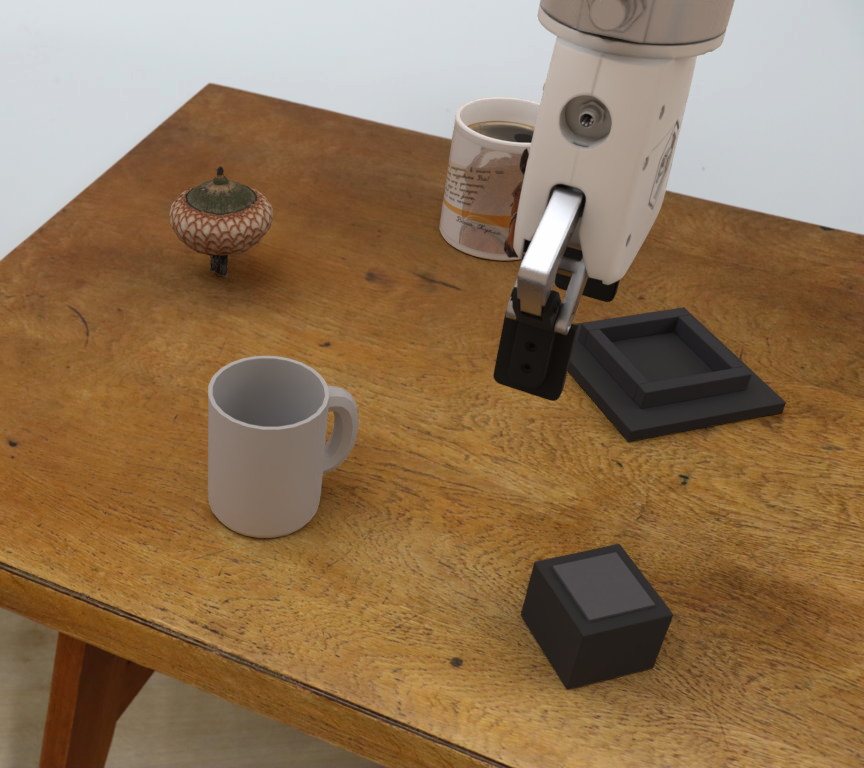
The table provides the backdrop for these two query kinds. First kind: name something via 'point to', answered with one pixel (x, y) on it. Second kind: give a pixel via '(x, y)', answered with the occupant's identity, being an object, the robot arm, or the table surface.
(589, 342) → the base pad
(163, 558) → the table surface
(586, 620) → the small cube
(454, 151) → the mug
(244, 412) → the cup
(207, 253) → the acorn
